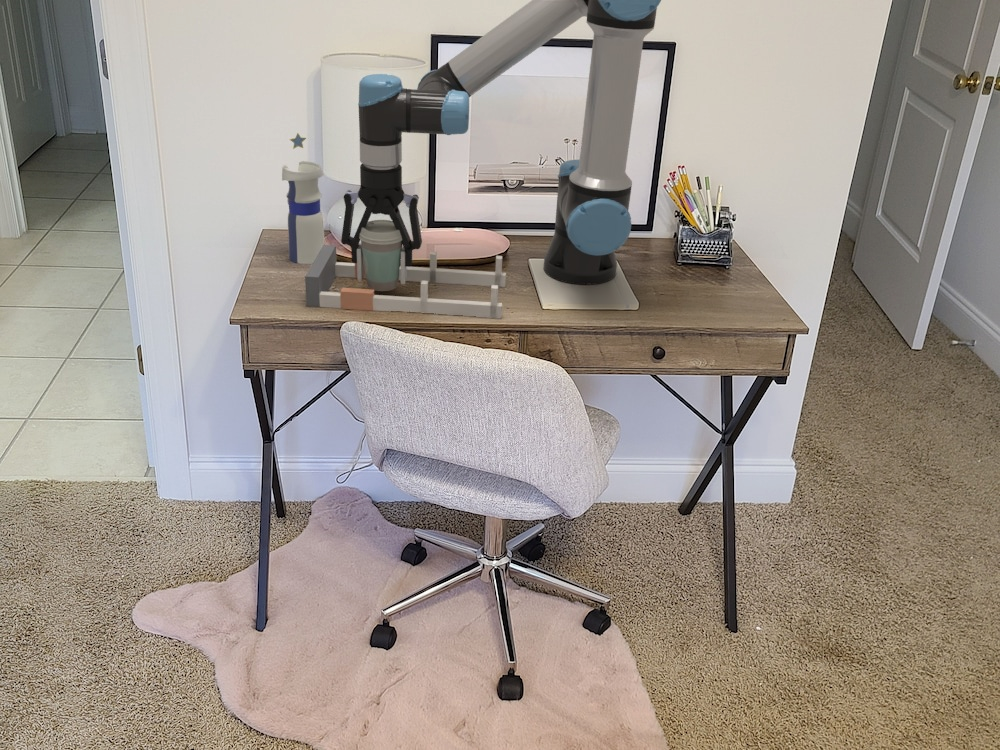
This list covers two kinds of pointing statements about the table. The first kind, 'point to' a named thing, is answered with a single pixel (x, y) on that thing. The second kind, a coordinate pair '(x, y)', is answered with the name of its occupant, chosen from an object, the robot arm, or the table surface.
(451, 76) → the robot arm
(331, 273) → the comb channel
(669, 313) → the table surface
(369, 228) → the coffee cup
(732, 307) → the table surface
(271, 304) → the table surface
